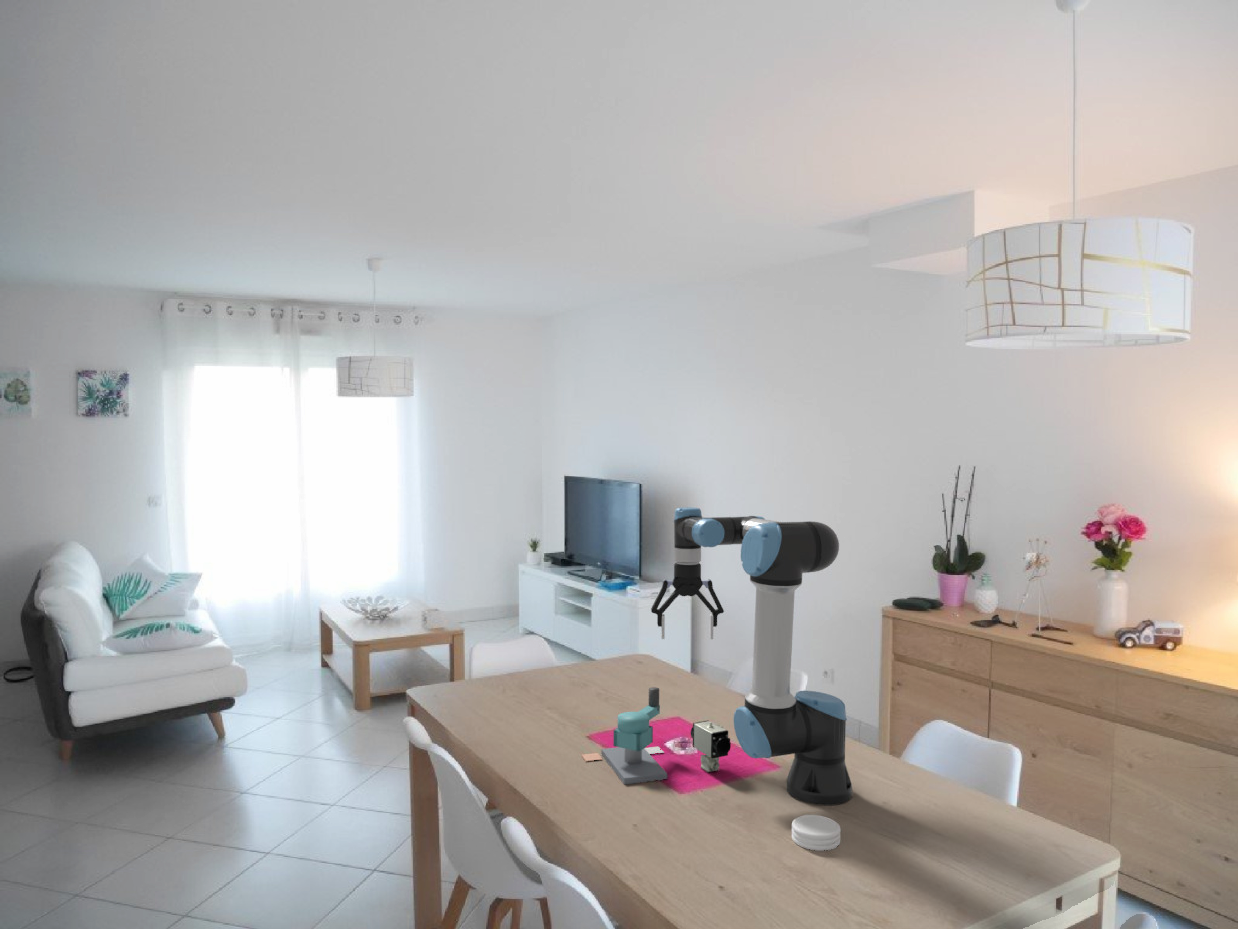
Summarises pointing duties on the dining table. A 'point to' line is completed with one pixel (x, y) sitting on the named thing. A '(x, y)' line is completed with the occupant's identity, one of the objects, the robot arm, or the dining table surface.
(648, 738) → the crank handle
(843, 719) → the robot arm
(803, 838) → the coaster
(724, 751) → the pneumatic valve
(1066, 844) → the dining table surface
